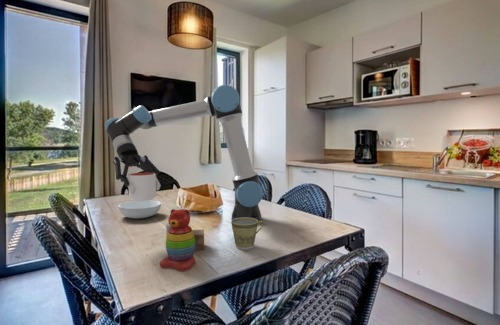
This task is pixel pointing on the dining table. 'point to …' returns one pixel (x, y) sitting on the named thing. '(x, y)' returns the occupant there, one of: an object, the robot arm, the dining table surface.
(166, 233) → the grey rounded cylinder
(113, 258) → the dining table surface
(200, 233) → the walnut block
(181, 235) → the stacking bear
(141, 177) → the cup
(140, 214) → the serving bowl
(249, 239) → the ceramic cup
